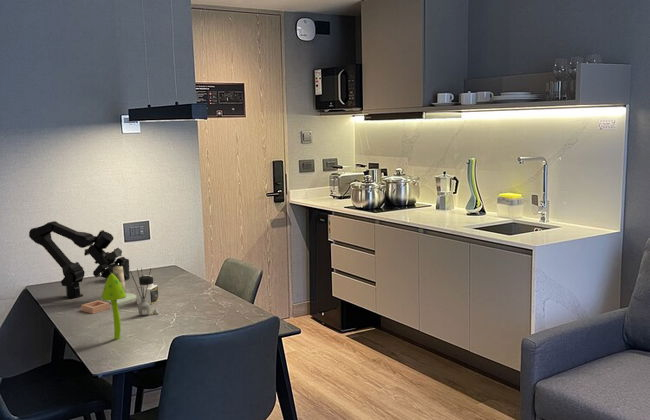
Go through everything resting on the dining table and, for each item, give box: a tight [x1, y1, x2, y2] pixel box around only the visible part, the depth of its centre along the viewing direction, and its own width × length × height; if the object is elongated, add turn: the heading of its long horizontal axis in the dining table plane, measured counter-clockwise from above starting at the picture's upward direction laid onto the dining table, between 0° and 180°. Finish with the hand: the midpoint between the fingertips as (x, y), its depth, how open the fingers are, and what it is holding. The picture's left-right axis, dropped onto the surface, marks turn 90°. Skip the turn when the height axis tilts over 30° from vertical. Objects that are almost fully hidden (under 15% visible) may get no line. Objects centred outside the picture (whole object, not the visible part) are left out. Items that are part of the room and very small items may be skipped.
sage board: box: [99, 292, 137, 306], centre depth 285 cm, size 13×13×1 cm
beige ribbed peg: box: [112, 266, 127, 298], centre depth 284 cm, size 4×4×14 cm
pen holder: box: [112, 258, 131, 282], centre depth 322 cm, size 9×9×10 cm
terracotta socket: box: [80, 299, 111, 314], centre depth 270 cm, size 8×8×2 cm
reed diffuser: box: [129, 267, 160, 316], centre depth 260 cm, size 10×7×20 cm
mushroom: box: [101, 273, 126, 340], centre depth 231 cm, size 8×8×25 cm
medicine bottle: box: [135, 274, 160, 306], centre depth 278 cm, size 7×7×12 cm
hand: (122, 280), depth 284 cm, fingers open, 6 cm apart
